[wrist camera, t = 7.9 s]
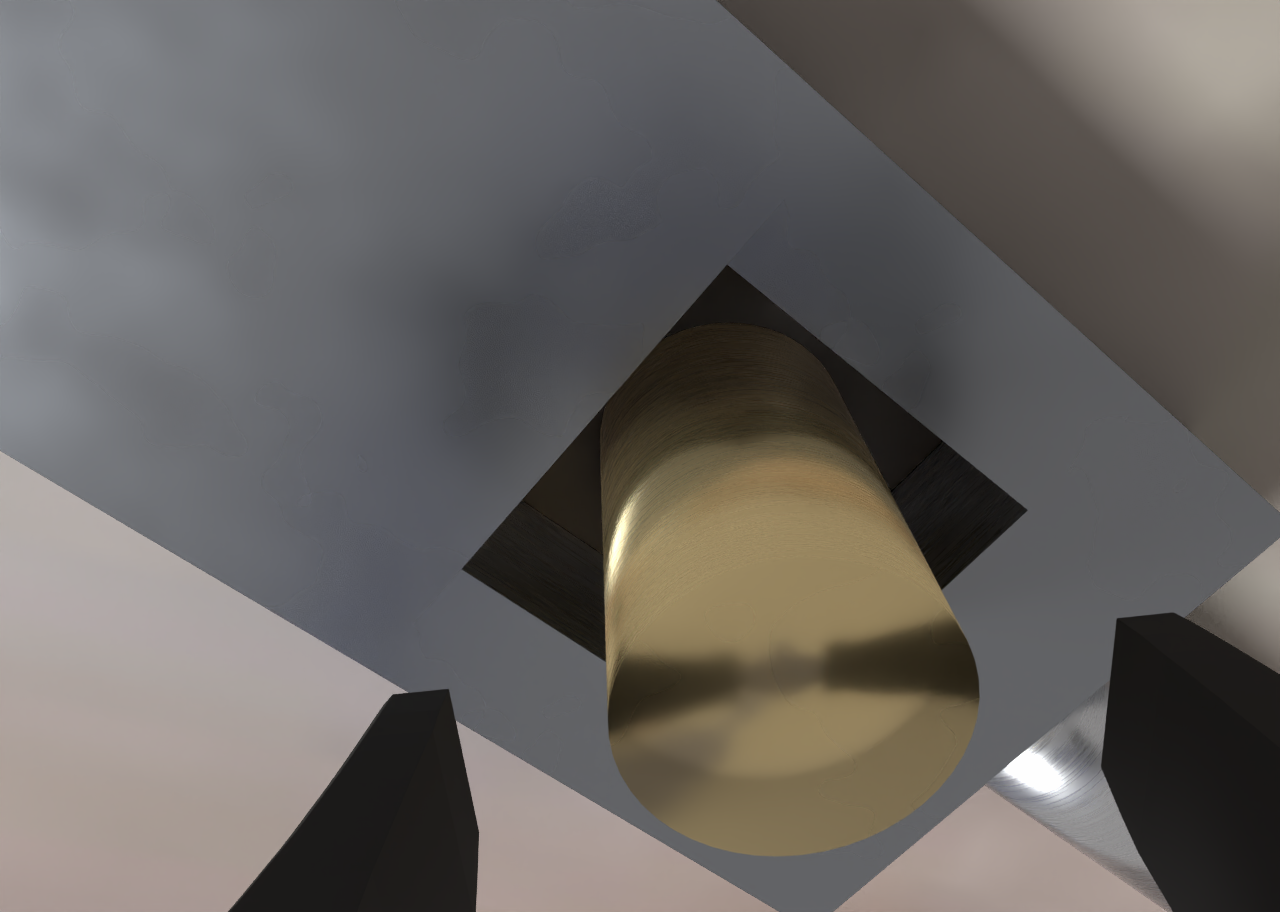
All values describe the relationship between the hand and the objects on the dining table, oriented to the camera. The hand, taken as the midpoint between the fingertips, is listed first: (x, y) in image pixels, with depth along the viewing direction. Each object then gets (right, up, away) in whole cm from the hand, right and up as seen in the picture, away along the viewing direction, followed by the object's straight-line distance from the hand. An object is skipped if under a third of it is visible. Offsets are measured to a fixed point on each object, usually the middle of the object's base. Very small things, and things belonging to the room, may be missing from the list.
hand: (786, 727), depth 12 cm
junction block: (-3, +5, +5) cm, 8 cm away
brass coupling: (0, +3, +6) cm, 7 cm away
